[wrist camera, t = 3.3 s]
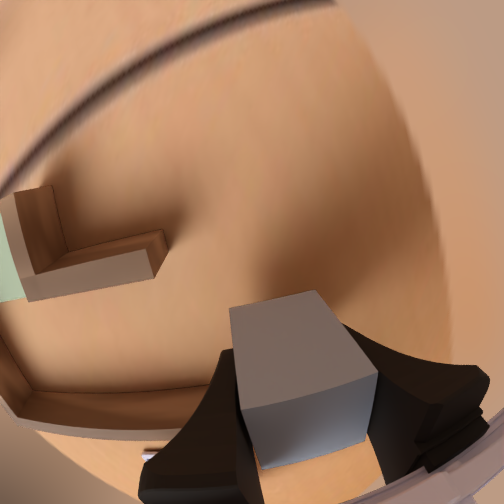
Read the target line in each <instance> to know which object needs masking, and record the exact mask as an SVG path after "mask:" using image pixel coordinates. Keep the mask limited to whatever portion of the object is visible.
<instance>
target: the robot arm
mask: <svg viewBox="0 0 504 504" xmlns="http://www.w3.org/2000/svg"><path fill="white" fill-rule="evenodd" d="M342 325H343V326H344V327H345V328H346V330H347V331H348V332H349V334H350V335H351V336H352V338H353V339H354V340H355V342H356V343H357V344H358V345H359V347H360V348H361V349H362V351H363V352H364V353H365V355H366V356H367V357H368V359H369V360H370V361H371V363H372V364H373V365H374V367H375V368H376V369H377V371H378V377H377V384H376V390H375V395H374V401H373V406H372V411H371V416H370V420H369V425H368V429H367V434H368V436H369V439H370V441H371V443H372V446H373V448H374V451H375V454H376V456H377V459H378V462H379V465H380V468H381V471H382V474H383V477H384V480H385V484H386V486H384V487H381V488H379V489H377V490H374V491H372V492H370V493H367V494H365V495H362V496H359V497H357V498H354V499H351V500H349V501H346V502H343V503H340V504H477V503H476V501H475V500H474V498H473V497H472V496H473V495H474V494H475V493H477V492H478V491H479V490H480V489H481V488H483V487H484V486H485V485H486V484H487V483H489V482H490V481H491V480H492V479H493V478H494V477H495V476H496V475H497V474H498V473H500V472H501V471H502V470H503V469H504V408H503V409H502V410H500V411H499V412H498V413H497V414H496V415H495V416H494V417H493V418H491V419H490V420H489V421H488V422H486V421H485V420H484V419H483V418H482V416H481V415H482V413H483V410H482V409H481V408H480V407H479V405H480V404H481V402H482V400H483V398H484V396H485V394H486V392H487V390H488V387H489V384H490V378H489V376H487V374H486V373H484V372H483V371H482V370H481V369H480V368H479V367H478V366H477V365H452V364H443V363H436V362H431V361H426V360H422V359H418V358H414V357H411V356H408V355H405V354H402V353H399V352H397V351H394V350H392V349H389V348H387V347H385V346H383V345H381V344H379V343H377V342H375V341H373V340H371V339H369V338H367V337H365V336H363V335H362V334H360V333H358V332H356V331H355V330H353V329H351V328H349V327H348V326H346V325H344V324H342ZM142 457H143V459H144V460H145V461H146V462H145V463H144V466H143V469H142V472H141V476H140V482H139V489H138V497H139V499H140V500H141V501H142V502H143V503H144V504H265V503H264V499H263V495H262V490H261V486H260V481H259V476H258V472H257V467H256V462H255V457H254V451H253V445H252V441H251V438H250V435H249V433H248V430H247V427H246V424H245V421H244V418H243V415H242V412H241V408H240V400H239V392H238V384H237V376H236V368H235V359H234V350H233V348H232V349H227V350H223V351H222V352H221V354H220V358H219V361H218V364H217V367H216V370H215V373H214V375H213V377H212V380H211V382H210V384H209V387H208V389H207V391H206V392H205V394H204V396H203V398H202V400H201V402H200V404H199V405H198V407H197V408H196V410H195V411H194V413H193V414H192V416H191V417H190V419H189V420H188V421H187V423H186V424H185V425H184V426H183V428H182V429H181V430H180V431H179V432H178V433H177V435H176V436H175V437H174V438H173V439H172V440H171V441H170V442H169V443H168V444H167V445H166V446H165V447H164V448H163V449H162V450H160V451H159V452H142Z"/></svg>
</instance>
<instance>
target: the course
mask: <svg viewBox="0 0 504 504" xmlns="http://www.w3.org/2000/svg"><path fill="white" fill-rule="evenodd" d="M0 212H1V216H2V221H3V225H4V229H5V233H6V237H7V241H8V245H9V248H10V252H11V255H12V258H13V261H14V264H15V267H16V270H17V273H18V276H19V279H20V282H21V285H22V287H23V290H24V292H25V295H26V297H27V300H28V302H33V301H39V300H44V299H49V298H55V297H60V296H65V295H71V294H76V293H81V292H87V291H92V290H97V289H102V288H108V287H113V286H118V285H123V284H128V283H134V282H139V281H144V280H149V279H154V278H155V276H156V274H157V272H158V270H159V269H160V267H161V265H162V263H163V261H164V260H165V258H166V256H167V254H168V248H167V244H166V240H165V236H164V232H163V229H161V230H157V231H152V232H148V233H144V234H139V235H135V236H131V237H127V238H123V239H118V240H114V241H110V242H106V243H102V244H98V245H94V246H91V247H87V248H83V249H79V250H75V251H72V252H68V250H67V246H66V243H65V239H64V236H63V232H62V228H61V224H60V220H59V216H58V212H57V208H56V203H55V198H54V193H53V188H52V186H46V187H40V188H35V189H30V190H24V191H19V192H15V193H12V194H10V195H8V196H6V197H4V198H2V199H1V200H0ZM208 387H209V385H204V386H197V387H189V388H180V389H171V390H160V391H148V392H132V393H58V392H43V391H33V390H32V388H31V387H30V385H29V384H28V382H27V381H26V379H25V378H24V376H23V374H22V373H21V371H20V370H19V368H18V366H17V365H16V363H15V361H14V360H13V358H12V356H11V354H10V352H9V351H8V349H7V347H6V345H5V343H4V341H3V339H2V337H1V335H0V404H1V405H2V407H3V408H4V409H5V411H6V412H7V413H8V415H9V416H10V417H11V418H12V419H13V421H14V422H15V423H16V424H17V426H21V427H25V428H29V429H34V430H39V431H44V432H49V433H54V434H60V435H67V436H74V437H82V438H92V439H104V440H121V441H168V440H172V439H173V438H174V437H175V436H176V435H177V433H178V432H179V431H180V430H181V429H182V428H183V426H184V425H185V424H186V423H187V421H188V420H189V419H190V417H191V416H192V414H193V413H194V411H195V410H196V408H197V407H198V405H199V404H200V402H201V400H202V398H203V396H204V394H205V392H206V391H207V389H208Z"/></svg>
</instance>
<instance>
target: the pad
mask: <svg viewBox="0 0 504 504" xmlns="http://www.w3.org/2000/svg"><path fill="white" fill-rule="evenodd" d="M25 297H26V295H25V292H24V290H23V287H22V285H21V282H20V279H19V276H18V273H17V270H16V267H15V264H14V261H13V258H12V255H11V252H10V248H9V245H8V241H7V237H6V233H5V229H4V225H3V221H2V216H1V213H0V302H5V301H10V300H15V299H20V298H25Z"/></svg>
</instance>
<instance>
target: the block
mask: <svg viewBox="0 0 504 504" xmlns="http://www.w3.org/2000/svg"><path fill="white" fill-rule="evenodd" d="M229 313H230V323H231V332H232V342H233V350H234V359H235V368H236V376H237V384H238V392H239V400H240V408H241V412H242V415H243V418H244V421H245V424H246V427H247V430H248V433H249V435H250V438H251V441H252V444H253V447H254V449H255V452H256V455H257V458H258V460H259V463H260V466H261V468H262V470H264V469H269V468H274V467H279V466H284V465H288V464H293V463H297V462H301V461H304V460H308V459H312V458H315V457H319V456H322V455H326V454H329V453H332V452H335V451H338V450H341V449H344V448H347V447H350V446H352V445H355V444H358V443H360V442H363V441H365V437H366V433H367V429H368V425H369V420H370V416H371V411H372V406H373V401H374V395H375V390H376V384H377V377H378V371H377V369H376V368H375V367H374V365H373V364H372V363H371V361H370V360H369V359H368V357H367V356H366V355H365V353H364V352H363V351H362V349H361V348H360V347H359V345H358V344H357V343H356V342H355V340H354V339H353V338H352V336H351V335H350V334H349V332H348V331H347V330H346V328H345V327H344V326H343V325H342V323H341V322H340V321H339V319H338V318H337V317H336V316H335V314H334V313H333V312H332V310H331V309H330V308H329V307H328V305H327V304H326V303H325V301H324V300H323V299H322V298H321V296H320V295H319V294H318V293H317V291H316V290H311V291H306V292H302V293H298V294H293V295H289V296H285V297H280V298H276V299H271V300H266V301H262V302H257V303H252V304H247V305H242V306H237V307H232V308H229Z"/></svg>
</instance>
